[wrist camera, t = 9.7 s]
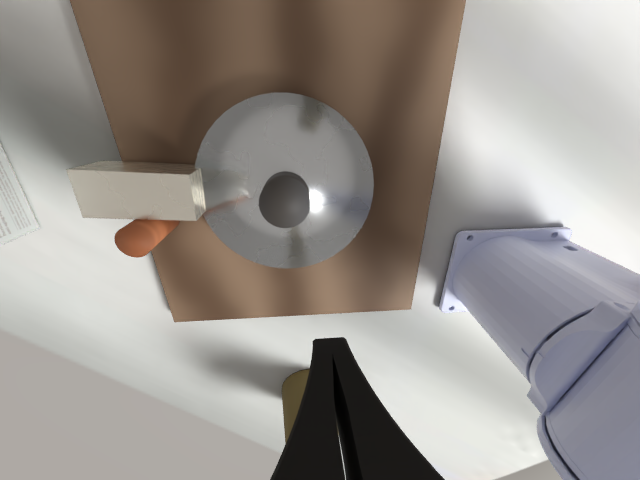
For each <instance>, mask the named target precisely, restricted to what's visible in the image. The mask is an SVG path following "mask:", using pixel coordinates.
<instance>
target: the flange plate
mask: <svg viewBox="0 0 640 480" xmlns="http://www.w3.org/2000/svg"><path fill="white" fill-rule="evenodd" d="M66 171H67V174H68V176H69V179H70V182H71V185H72V188H73V191H74V194H75V196H76V199H77V202H78V205H79V208H80V211H81V214H82V216H83V218H111V219H147V220H183V221H197V220H198V219H199V218H200V217H201V216H202V214H203V216H204V218H205V220H206V222H207V223H208V225H209V226H210V228H211V229H212V231H213V232H214V233H215V234H216V235H217V237H218V238H219V239H220V240H221V241H222V242H223V243H224V244H225V245H226V246H228V247H229V248H230V249H231V250H233V251H234V252H236V253H237V254H239V255H241V256H242V257H244V258H246V259H248V260H250V261H253V262H255V263H258V264H261V265H265V266H269V267H275V268H300V267H306V266H310V265H314V264H317V263H319V262H322V261H324V260H326V259H328V258H330V257H332V256H334V255H335V254H337V253H338V252H340V251H341V250H342V249H343V248H345V247H346V246H347V245H348V244H349V243H350V242H351V241H352V240H353V239H354V237H355V236H356V235H357V234H358V232H359V231H360V229H361V228H362V226H363V224H364V222H365V220H366V218H367V216H368V213H369V210H370V207H371V203H372V198H373V189H374V179H373V170H372V164H371V160H370V157H369V154H368V151H367V149H366V147H365V145H364V143H363V141H362V139H361V137H360V136H359V134H358V133H357V131H356V130H355V129H354V128H353V126H352V125H351V124H350V123H349V122H348V121H347V120H346V119H345V118H344V117H343V116H342V115H341V114H339V113H338V112H337V111H336V110H334V109H333V108H331V107H330V106H328V105H326V104H325V103H322V102H320V101H318V100H316V99H314V98H311V97H307V96H304V95H300V94H294V93H268V94H261V95H257V96H254V97H251V98H248V99H246V100H244V101H242V102H240V103H238V104H236V105H234V106H233V107H231V108H230V109H228V110H227V111H226V112H224V113H223V114H222V115H221V116H220V117H219V118H218V119H217V120H216V121H215V122H214V124H213V125H212V126H211V128H210V129H209V130H208V132H207V133H206V135H205V137H204V139H203V141H202V143H201V146H200V148H199V151H198V154H197V159H196V163H195V165H191V164H169V163H147V162H125V161H99V162H95V163H91V164H87V165H83V166H79V167H75V168H70V169H66ZM283 171H288V172H293V173H295V174H297V175H299V176H300V177H301V178H303V180H304V181H305V182H306V184H307V186H308V189H309V196H310V211H309V214H308V216H307V217H306V219H305V220H304V221H303V222H302V223H300V224H299V225H297V226H295V227H292V228H279V227H276V226H273V225H272V224H270V223H269V222H267V221H266V220H265V218H264V217H263V216H262V214H261V212H260V209H259V197H260V194H261V192H262V189H263V187H264V185H265V183H266V182H267V180H268V179H269V178H270V177H271V176H272V175H274V174H276V173H278V172H283Z"/></svg>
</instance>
